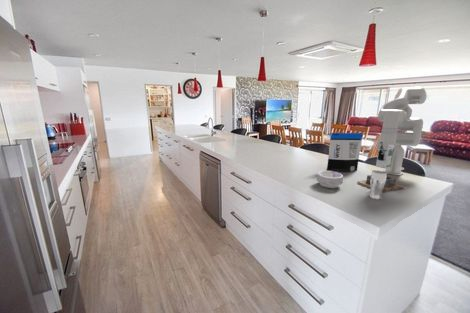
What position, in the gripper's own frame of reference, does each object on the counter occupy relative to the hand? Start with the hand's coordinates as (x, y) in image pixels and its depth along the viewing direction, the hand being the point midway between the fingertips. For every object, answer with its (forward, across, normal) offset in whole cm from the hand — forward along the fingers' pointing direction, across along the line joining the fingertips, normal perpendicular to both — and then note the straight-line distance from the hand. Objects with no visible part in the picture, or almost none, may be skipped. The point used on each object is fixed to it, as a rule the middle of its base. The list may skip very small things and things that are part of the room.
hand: (384, 159), depth 131 cm
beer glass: (+18, +20, +12) cm, 29 cm away
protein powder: (+18, -5, -35) cm, 40 cm away
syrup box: (+5, 0, 0) cm, 5 cm away
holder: (+17, 0, 0) cm, 17 cm away
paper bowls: (+18, +31, -11) cm, 37 cm away
